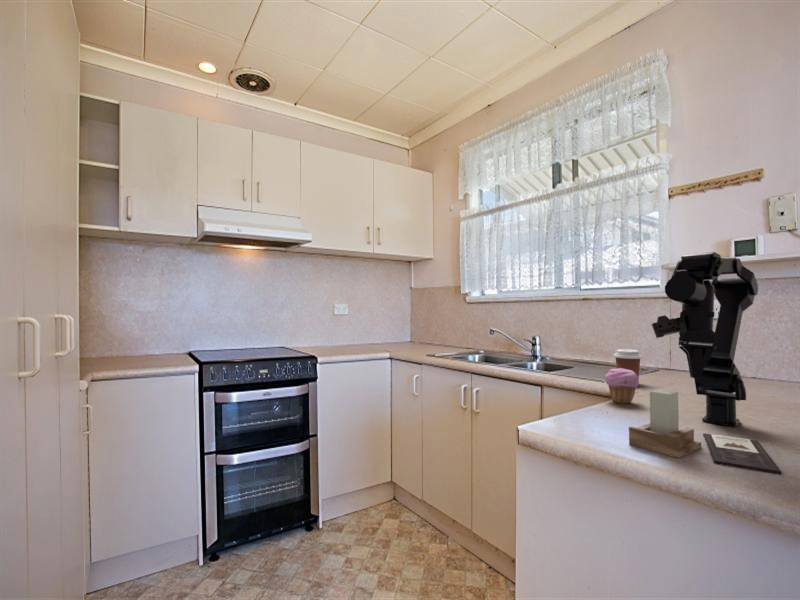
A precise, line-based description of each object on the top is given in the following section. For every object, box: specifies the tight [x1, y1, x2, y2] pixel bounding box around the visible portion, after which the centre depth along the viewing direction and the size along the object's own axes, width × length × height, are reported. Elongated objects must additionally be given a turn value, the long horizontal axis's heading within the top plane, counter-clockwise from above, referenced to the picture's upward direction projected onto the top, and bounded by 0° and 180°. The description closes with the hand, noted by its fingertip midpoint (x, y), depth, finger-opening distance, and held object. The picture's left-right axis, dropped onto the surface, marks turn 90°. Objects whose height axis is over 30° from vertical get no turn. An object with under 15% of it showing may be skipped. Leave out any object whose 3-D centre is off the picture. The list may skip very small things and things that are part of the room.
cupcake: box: [604, 368, 640, 405], centre depth 118 cm, size 9×9×10 cm
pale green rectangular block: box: [649, 388, 680, 435], centre depth 81 cm, size 4×4×10 cm
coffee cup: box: [613, 348, 643, 380], centre depth 145 cm, size 9×9×12 cm
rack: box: [628, 422, 702, 459], centre depth 81 cm, size 10×9×4 cm
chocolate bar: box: [702, 432, 782, 475], centre depth 77 cm, size 9×1×18 cm
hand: (694, 377), depth 88 cm, fingers open, 9 cm apart
